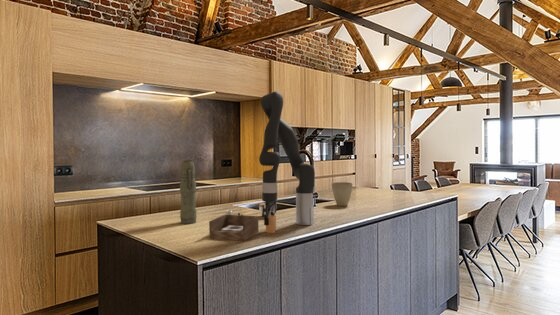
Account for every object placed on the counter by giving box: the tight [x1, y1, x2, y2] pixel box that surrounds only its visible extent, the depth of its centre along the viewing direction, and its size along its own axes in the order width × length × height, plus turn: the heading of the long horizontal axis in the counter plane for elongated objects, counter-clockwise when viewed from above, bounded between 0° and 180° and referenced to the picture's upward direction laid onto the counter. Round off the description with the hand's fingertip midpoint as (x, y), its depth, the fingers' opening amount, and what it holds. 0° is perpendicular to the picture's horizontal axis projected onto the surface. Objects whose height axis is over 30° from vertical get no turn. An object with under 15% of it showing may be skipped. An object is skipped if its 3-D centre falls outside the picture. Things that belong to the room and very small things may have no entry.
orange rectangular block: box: [265, 214, 277, 234], centre depth 190 cm, size 4×4×8 cm
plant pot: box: [331, 181, 354, 207], centre depth 270 cm, size 15×15×16 cm
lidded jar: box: [258, 202, 278, 216], centre depth 229 cm, size 11×11×9 cm
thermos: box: [179, 160, 198, 225], centre depth 213 cm, size 9×12×35 cm
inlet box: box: [208, 213, 259, 242], centre depth 184 cm, size 18×18×8 cm
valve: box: [225, 210, 244, 215], centre depth 210 cm, size 7×7×12 cm
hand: (269, 223), depth 190 cm, fingers open, 8 cm apart
